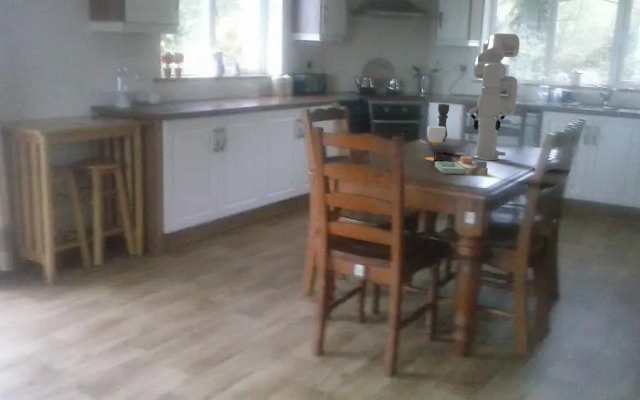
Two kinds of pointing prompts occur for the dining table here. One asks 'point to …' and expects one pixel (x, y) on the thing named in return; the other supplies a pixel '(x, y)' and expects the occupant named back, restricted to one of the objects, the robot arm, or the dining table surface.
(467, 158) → the terracotta tile
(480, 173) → the birch platform
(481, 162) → the slate tile
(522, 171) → the dining table surface
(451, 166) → the box
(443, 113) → the candle holder
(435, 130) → the cup
